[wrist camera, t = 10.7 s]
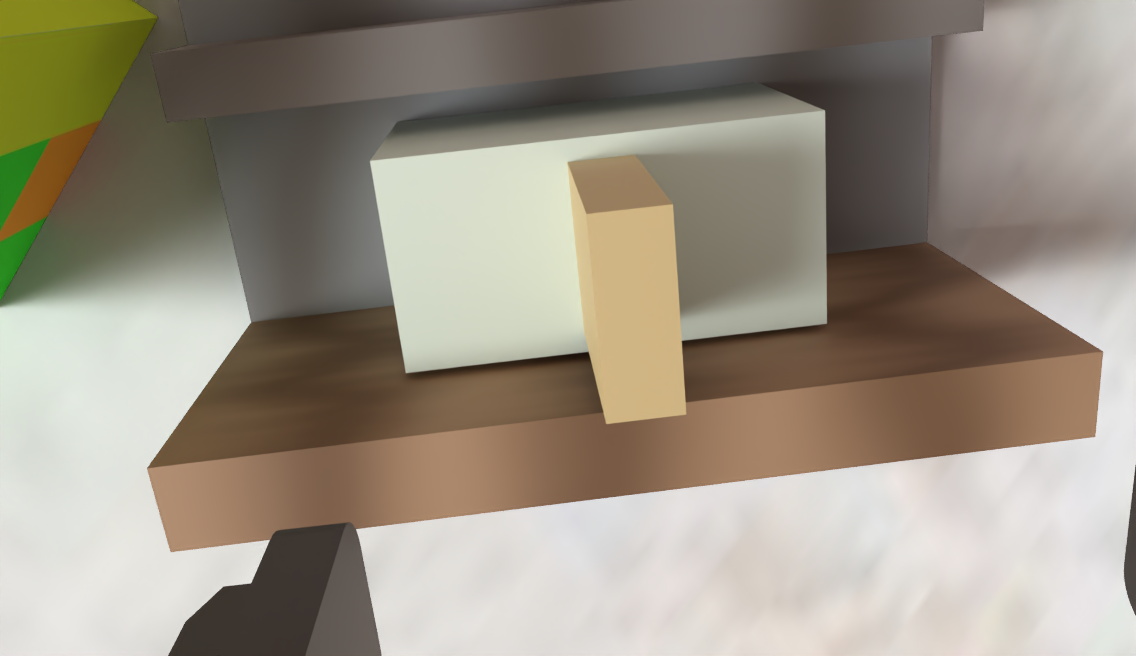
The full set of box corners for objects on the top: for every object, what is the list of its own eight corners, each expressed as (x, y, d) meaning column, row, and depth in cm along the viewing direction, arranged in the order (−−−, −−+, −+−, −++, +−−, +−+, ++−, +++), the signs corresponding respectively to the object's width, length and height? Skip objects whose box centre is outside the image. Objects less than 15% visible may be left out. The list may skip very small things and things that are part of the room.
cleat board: (919, -88, 27) (1146, -121, 17) (911, 322, 31) (1091, 473, 22) (188, -8, 26) (15, 1, 17) (278, 399, 30) (180, 587, 21)
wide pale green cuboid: (757, 82, 27) (916, 147, 17) (762, 255, 29) (910, 412, 18) (396, 122, 27) (333, 213, 16) (423, 294, 29) (381, 475, 18)
